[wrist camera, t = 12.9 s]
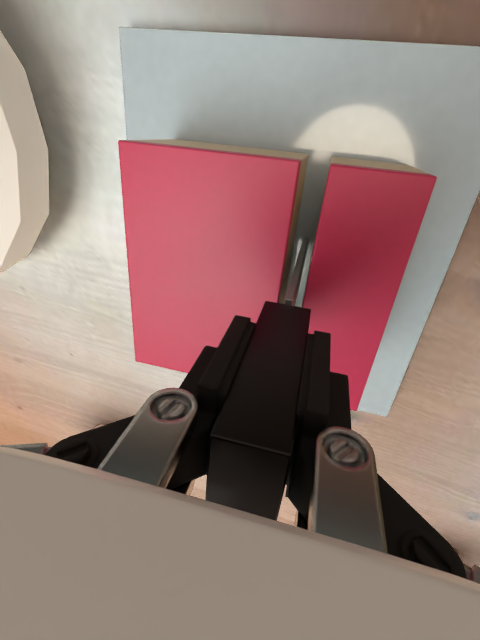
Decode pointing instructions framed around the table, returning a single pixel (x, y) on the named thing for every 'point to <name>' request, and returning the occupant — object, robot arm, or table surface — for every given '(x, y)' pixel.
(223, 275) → the cake
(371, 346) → the cake slice
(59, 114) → the table surface
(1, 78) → the candle holder
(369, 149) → the cake plate
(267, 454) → the knife
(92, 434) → the robot arm
